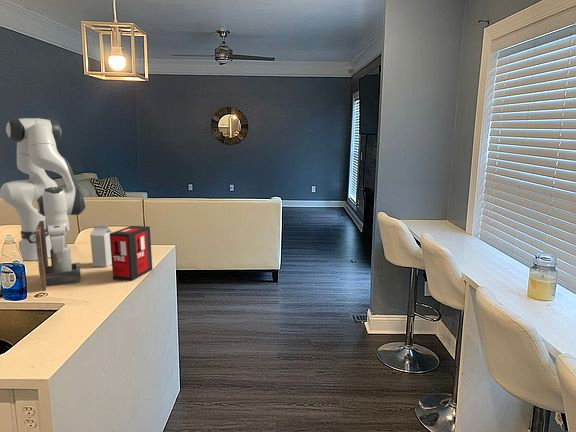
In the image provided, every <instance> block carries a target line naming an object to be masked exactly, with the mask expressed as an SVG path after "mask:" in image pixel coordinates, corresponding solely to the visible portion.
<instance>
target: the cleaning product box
mask: <svg viewBox="0 0 576 432" xmlns="http://www.w3.org/2000/svg"><path fill="white" fill-rule="evenodd" d="M112 232H113V233H110V246H111V258H112V264H111V268H112V269H111V271H112V279H113V281H124V280H125V281H126V282H127V281H128V282H133V281H135V280H136V279H138V278H140V277H142V276H143V275H146V274H147V273H149V272H151V271H153V256H152V242H151V241H152V240H151V227H150V226H146V225H130V226H127V227H125V228H124V227H123V228H122V229H119V230H116V231H112Z"/></svg>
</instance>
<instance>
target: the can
mask: <svg viewBox="0 0 576 432" xmlns="http://www.w3.org/2000/svg"><path fill="white" fill-rule="evenodd" d="M50 255H51V257H50V263H51V264H50V265H51V266H52V273H58V272H66V271H72V264H73V263H72V256H71V248H70V247H69V244H66V243H65V246H64V252H63V253H62V258H63V262H60V263H59V262H58V259H57V255H56V254H54V252H53V249H51V250H50Z"/></svg>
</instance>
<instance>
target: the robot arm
mask: <svg viewBox="0 0 576 432" xmlns="http://www.w3.org/2000/svg"><path fill="white" fill-rule="evenodd" d="M5 132H6V135H7V136H8V139H10V141H12V142H16V167H17V169H18V170H19V171H20V172H22V173H24V174H26V175H29V178H28V179H22V180H21V179H20V180H12V181H8V182H5V183H3V184H2V185H1V187H0V197H1V199H2V200H3V201H4V202H5V203H6V204H8V205H10V206H11V207H12V208H13V209H15V211H16V212H17V214H18V217H19V221H20V228H21V230H20V237H21V239H20V241H18V251H19V250H20V252H21V255H22V258H23V260H22V261H38V256H37V247H36V238H35V230H36V228H37V226H38V224H39V222H40V221H44V227H45V237H46V246H47V256H48V259H49V258H50V259H51V255H50V250H51V249H53V252H54V254H56V255H57V259H58V262H59V263H60V262H63V258H62V253H63V252H64V246H65V244H66V237H65V236H66V235H67V234H68V231H70V230H71V229H70V221H69V220H70V219H69V216H78V215H79V216H80V214H82V213H83V212H84V211H85V209H86V200H85V198H84V196H83V194H82V192H81V190H80V187H79V185H78V182H77V179H76V177H75V174H74V172H73V170H72V167H71V165H70V163H69V161H68V159H66V158H65V157H64V156H62V155H61V154H60V152H59V151H58V148H57V143H56V142H58V141H59V140H60V139H61V136H62V128H61V124H60V123H59V122H58V121H57V120H54V119H47V118H46V119H44V118H40V117H38V118H37V117H33V118H31V117H30V118H29V117H24V118H18V117H15V118H9V120H8V121H7V124H6V127H5ZM46 171H50V172H53V173H56V174H59V175H60V176H61V177H62V178H63V181H64V183H65V185H66V186H65V187H66V189H67V190H68V191H67V192H65V189H64V188H62V187H59V186H58V184H57V182H56V181H55V180H53V179H52V178H51V177H49V175H48V174H47V172H46ZM34 202H37V208H36V207H34V205H33V203H34Z"/></svg>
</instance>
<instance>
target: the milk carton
mask: <svg viewBox="0 0 576 432" xmlns="http://www.w3.org/2000/svg"><path fill="white" fill-rule="evenodd" d="M113 232H114V231H112V230H111V229H110V228H109V225H105V224H103V225H102V224H100V225H99V224H94V225H93V229H92V231H91V232H90V235H89V236H90V246H91V249H90V250H91V259H92V267H98V268H99V267H100V268H108V267H109V266H112V258H111V246H110V233H113Z"/></svg>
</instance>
